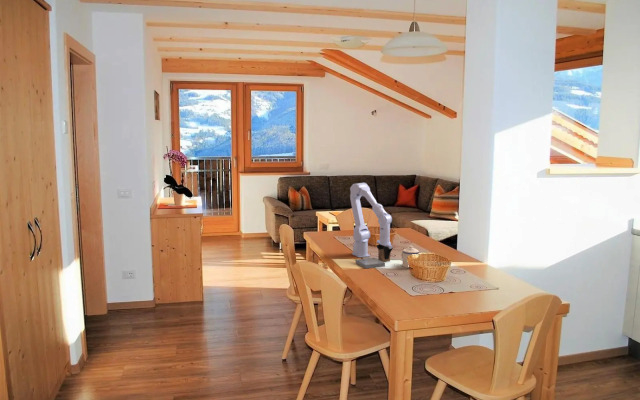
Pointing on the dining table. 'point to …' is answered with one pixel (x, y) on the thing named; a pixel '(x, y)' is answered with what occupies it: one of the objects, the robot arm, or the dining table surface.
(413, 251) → the teacup with lid
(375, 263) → the slate trivet
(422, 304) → the dining table surface
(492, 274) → the dining table surface
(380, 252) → the walnut block
